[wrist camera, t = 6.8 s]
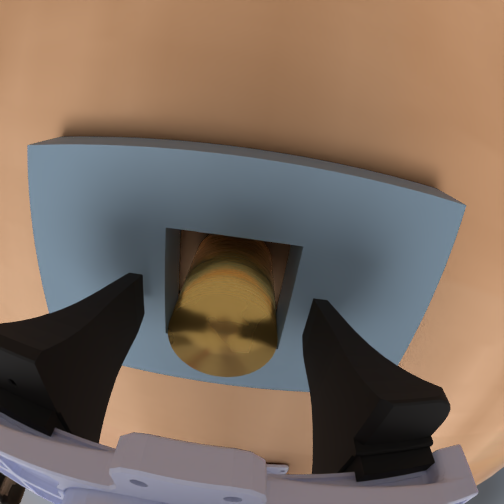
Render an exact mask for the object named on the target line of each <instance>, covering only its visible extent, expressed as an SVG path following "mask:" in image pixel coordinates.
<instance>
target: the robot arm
mask: <svg viewBox="0 0 504 504" xmlns="http://www.w3.org/2000/svg"><path fill="white" fill-rule="evenodd" d="M144 314H145V310H144V293H143V275H142V274H136V273H128V274H126V275H124V276H122V277H120V278H119V279H117V280H116V281H114V282H112V283H111V284H109V285H107V286H106V287H104V288H102V289H101V290H99V291H97V292H95V293H94V294H92V295H90V296H88V297H86V298H84V299H83V300H81V301H79V302H77V303H75V304H72V305H70V306H68V307H65V308H63V309H61V310H58V311H55V312H52V313H49V314H46V315H43V316H40V317H36V318H32V319H27V320H23V321H17V322H10V323H2V324H0V472H1V473H3V474H4V475H6V476H7V477H9V478H10V479H12V480H13V481H15V482H17V483H18V484H20V485H21V486H23V487H25V488H27V489H28V490H30V491H32V492H33V493H35V494H37V495H39V496H41V497H42V498H44V499H46V500H48V501H50V502H52V503H54V504H464V503H465V502H467V501H468V500H470V499H471V498H473V497H474V496H476V495H477V494H478V490H477V487H476V484H475V481H474V478H473V476H472V473H471V470H470V468H469V465H468V462H467V460H466V457H465V455H464V452H463V450H462V447H461V445H459V444H458V445H454V446H450V447H446V448H442V449H439V450H436V451H435V452H433V453H432V452H431V449H430V446H432V445H433V440H432V437H431V435H432V434H433V433H434V432H435V431H436V430H437V429H438V427H439V426H440V425H441V424H442V423H443V422H444V420H445V419H446V418H447V416H448V414H449V412H450V403H449V401H448V399H447V397H446V395H445V393H444V391H443V389H442V388H441V387H439V386H436V385H434V384H432V383H429V382H427V381H425V380H422V379H420V378H418V377H416V376H414V375H413V374H411V373H409V372H407V371H405V370H404V369H402V368H400V367H399V366H397V365H396V364H394V363H393V362H391V361H390V360H388V359H387V358H385V357H384V356H383V355H382V354H380V353H379V352H378V351H377V350H375V349H374V348H373V347H372V346H371V345H369V344H368V343H367V342H366V341H365V340H364V339H363V338H362V337H361V336H360V335H359V334H358V333H357V332H356V331H355V330H354V329H353V328H352V327H351V326H350V325H349V324H348V323H347V321H346V320H345V319H344V318H343V317H342V316H341V315H340V314H339V312H338V311H337V310H336V309H335V308H334V307H333V306H332V305H331V303H330V302H329V301H328V300H323V299H315V298H313V301H312V304H311V308H310V311H309V315H308V318H307V321H306V325H305V328H304V331H303V334H302V346H303V358H304V364H305V369H306V375H307V380H308V385H309V391H310V396H311V404H312V421H313V465H312V474H300V475H292V474H286V473H287V471H288V469H289V466H288V465H276V464H266V461H265V460H264V459H263V458H262V457H260V456H258V455H256V454H254V453H253V452H250V451H245V450H241V449H236V448H229V447H220V446H212V445H205V444H199V443H192V442H186V441H181V440H175V439H170V438H165V437H160V436H156V435H151V434H144V433H135V432H133V433H130V434H126V435H123V436H120V438H119V441H118V444H117V447H116V449H114V448H111V447H108V446H105V445H101V444H99V439H100V434H101V429H102V425H103V421H104V417H105V413H106V409H107V405H108V402H109V398H110V395H111V392H112V389H113V386H114V383H115V380H116V377H117V375H118V372H119V370H120V368H121V366H122V364H123V362H124V360H125V358H126V356H127V354H128V352H129V350H130V348H131V346H132V344H133V342H134V340H135V338H136V336H137V334H138V332H139V329H140V326H141V323H142V320H143V317H144Z"/></svg>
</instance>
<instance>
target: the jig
mask: <svg viewBox="0 0 504 504" xmlns="http://www.w3.org/2000/svg"><path fill="white" fill-rule="evenodd" d="M28 181H29V196H30V208H31V218H32V226H33V234H34V241H35V247H36V253H37V259H38V265H39V270H40V275H41V280H42V285H43V289H44V294H45V298H46V302H47V306H48V310H49V313H52V312H55V311H58V310H61V309H63V308H65V307H68V306H70V305H72V304H75V303H77V302H79V301H81V300H83V299H84V298H86V297H88V296H90V295H92V294H94V293H95V292H97V291H99V290H101V289H102V288H104V287H106V286H107V285H109V284H111V283H112V282H114V281H116V280H117V279H119V278H120V277H122V276H124V275H126V274H128V273H136V274H142V275H143V293H144V310H145V314H144V317H143V320H142V323H141V326H140V329H139V332H138V334H137V336H136V338H135V340H134V342H133V344H132V346H131V348H130V350H129V352H128V354H127V356H126V358H125V360H124V362H123V364H122V365H123V366H127V367H131V368H135V369H140V370H144V371H149V372H154V373H159V374H164V375H169V376H174V377H180V378H186V379H192V380H198V381H204V382H211V383H218V384H225V385H233V386H242V387H251V388H261V389H272V390H285V391H302V392H310V391H309V385H308V380H307V375H306V369H305V364H304V358H303V346H302V334H303V331H304V328H305V325H306V321H307V318H308V315H309V311H310V308H311V304H312V301H313V298H315V299H323V300H328V301H329V302H330V303H331V305H332V306H333V307H334V308H335V309H336V310H337V311H338V312H339V314H340V315H341V316H342V317H343V318H344V319H345V320H346V321H347V323H348V324H349V325H350V326H351V327H352V328H353V329H354V330H355V331H356V332H357V333H358V334H359V335H360V336H361V337H362V338H363V339H364V340H365V341H366V342H367V343H368V344H369V345H371V346H372V347H373V348H374V349H375V350H377V351H378V352H379V353H380V354H382V355H383V356H384V357H385V358H387V359H388V360H390V361H391V362H393V363H394V364H396V365H397V366H398V364H399V362H400V360H401V359H402V357H403V355H404V353H405V351H406V350H407V348H408V346H409V344H410V342H411V340H412V338H413V336H414V334H415V332H416V330H417V328H418V326H419V324H420V322H421V320H422V318H423V316H424V314H425V312H426V310H427V308H428V306H429V303H430V301H431V299H432V297H433V294H434V292H435V290H436V288H437V285H438V283H439V280H440V278H441V276H442V273H443V271H444V268H445V266H446V263H447V260H448V258H449V255H450V253H451V250H452V247H453V244H454V241H455V239H456V236H457V233H458V230H459V227H460V224H461V221H462V217H463V214H464V211H465V208H466V205H465V204H463V203H461V202H460V201H458V200H456V199H454V198H453V197H451V196H449V195H447V194H445V193H444V192H442V191H440V190H438V189H436V188H433V187H430V186H427V185H423V184H420V183H416V182H412V181H409V180H405V179H401V178H398V177H394V176H390V175H386V174H382V173H378V172H374V171H369V170H365V169H361V168H356V167H352V166H347V165H343V164H338V163H333V162H328V161H323V160H318V159H313V158H307V157H302V156H296V155H290V154H284V153H278V152H272V151H265V150H259V149H252V148H244V147H237V146H229V145H220V144H211V143H201V142H191V141H179V140H166V139H151V138H131V137H88V136H80V137H58V138H54V139H50V140H46V141H42V142H38V143H34V144H30V145H28ZM181 230H188V231H196V232H203V233H211V234H218V235H225V236H233V237H240V238H247V239H254V240H261V241H269V242H276V243H283V244H290V245H291V246H290V251H289V256H288V260H287V265H286V270H285V274H284V279H283V283H282V288H281V292H280V297H279V301H278V306H277V310H276V323H277V337H278V342H277V348H276V351H275V353H274V355H273V357H272V358H271V359H270V360H269V362H268V363H266V364H265V365H264V366H263V367H261V368H260V369H258V370H256V371H254V372H252V373H250V374H246V375H242V376H237V377H218V376H213V375H209V374H205V373H202V372H200V371H197V370H195V369H193V368H192V367H190V366H188V365H187V364H186V363H184V362H183V361H182V360H181V359H180V358H179V357H178V356H177V355H176V353H175V352H174V350H173V349H172V347H171V345H170V342H169V339H168V325H169V321H170V318H171V316H172V313H173V310H174V308H175V305H176V303H177V300H178V293H179V260H180V238H181Z"/></svg>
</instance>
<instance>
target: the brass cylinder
mask: <svg viewBox="0 0 504 504" xmlns="http://www.w3.org/2000/svg"><path fill="white" fill-rule="evenodd" d="M168 339H169V342H170V345H171V347H172V349H173V350H174V352H175V353H176V355H177V356H178V357H179V358H180V359H181V360H182V361H183V362H184V363H186V364H187V365H188V366H190V367H192V368H193V369H195V370H197V371H200V372H202V373H205V374H209V375H213V376H218V377H237V376H242V375H246V374H250V373H252V372H254V371H256V370H258V369H260V368H261V367H263V366H264V365H265V364H266V363H268V362H269V360H270V359H271V358H272V357H273V355H274V353H275V351H276V348H277V342H278V337H277V323H276V309H275V296H274V283H273V270H272V259H271V254H270V251H269V249H268V247H267V246H266V244H265V243H264V242H263V241H261V240H254V239H247V238H240V237H233V236H225V235H218V234H210V235H208V236H207V237H206V238H205V239H204V240H203V241H202V243H201V244H200V246H199V248H198V250H197V252H196V255H195V257H194V260H193V262H192V265H191V267H190V269H189V272H188V274H187V277H186V280H185V282H184V285H183V287H182V290H181V292H180V295H179V297H178V300H177V303H176V305H175V308H174V310H173V313H172V316H171V318H170V321H169V325H168Z"/></svg>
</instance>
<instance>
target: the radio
mask: <svg viewBox="0 0 504 504" xmlns="http://www.w3.org/2000/svg"><path fill="white" fill-rule="evenodd" d="M24 491H25V487H23V486H21V485H20V484H18V483H17V482H15V481H13V480H12V479H10V478H9V477H7V476H6V475H4V474H3V473H1V472H0V504H19V503H20V502H21V499H22V497H23V494H24Z"/></svg>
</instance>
